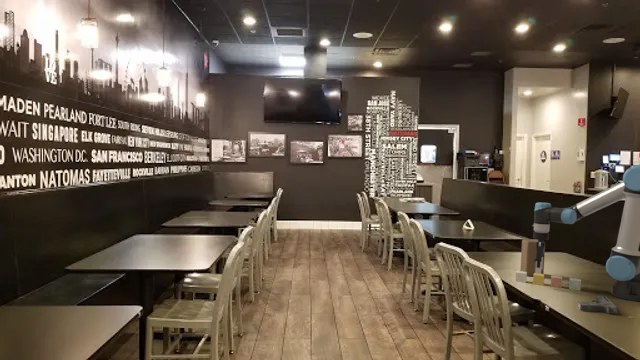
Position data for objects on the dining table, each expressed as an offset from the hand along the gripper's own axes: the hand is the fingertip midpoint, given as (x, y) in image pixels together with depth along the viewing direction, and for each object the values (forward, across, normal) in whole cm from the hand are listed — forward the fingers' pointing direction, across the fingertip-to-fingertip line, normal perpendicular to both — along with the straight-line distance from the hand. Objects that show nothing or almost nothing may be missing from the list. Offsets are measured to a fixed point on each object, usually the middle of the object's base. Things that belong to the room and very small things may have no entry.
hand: (538, 271), depth 242 cm
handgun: (+7, +30, +25) cm, 39 cm away
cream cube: (+7, 0, -8) cm, 11 cm away
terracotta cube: (+7, 0, +9) cm, 11 cm away
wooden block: (+7, -21, -4) cm, 22 cm away
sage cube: (+7, 0, +17) cm, 18 cm away
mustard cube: (+7, 0, 0) cm, 7 cm away
